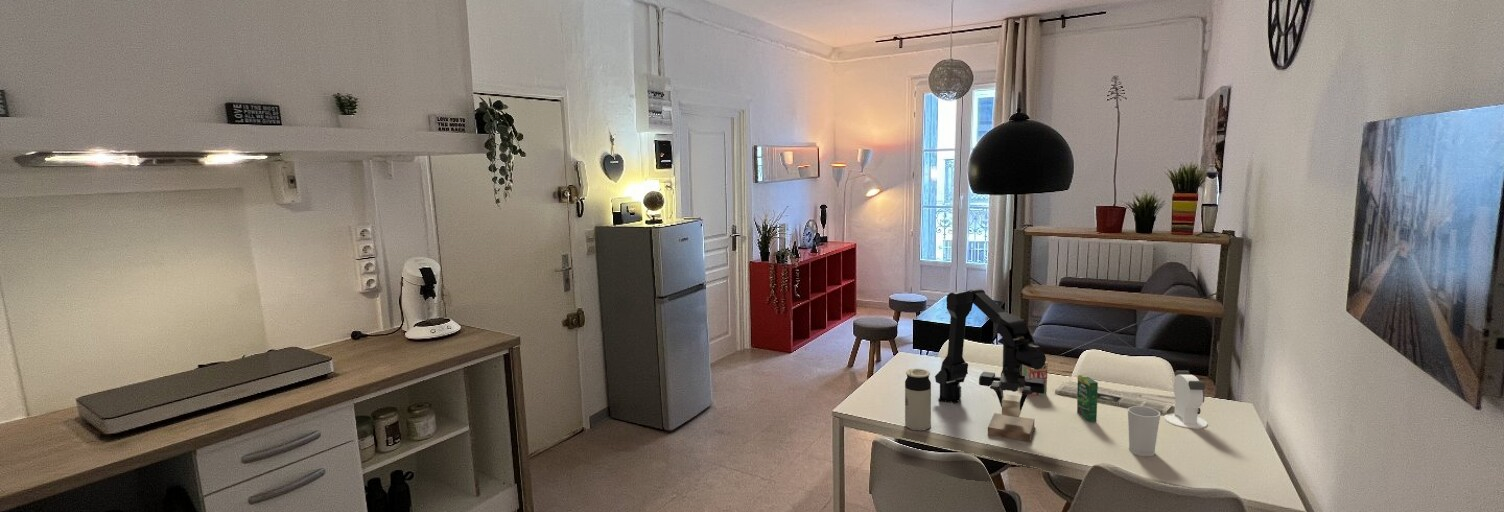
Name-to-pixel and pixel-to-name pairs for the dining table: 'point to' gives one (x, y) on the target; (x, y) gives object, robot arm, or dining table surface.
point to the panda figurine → (1187, 401)
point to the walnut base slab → (1011, 427)
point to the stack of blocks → (1035, 375)
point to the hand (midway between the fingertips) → (1011, 408)
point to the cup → (1143, 430)
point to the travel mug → (918, 399)
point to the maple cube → (1011, 405)
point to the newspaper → (1121, 397)
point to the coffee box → (1087, 398)
